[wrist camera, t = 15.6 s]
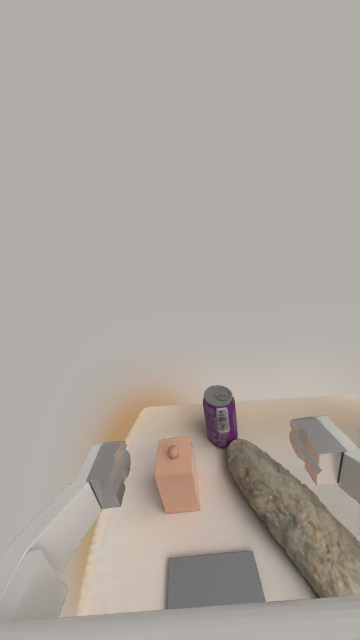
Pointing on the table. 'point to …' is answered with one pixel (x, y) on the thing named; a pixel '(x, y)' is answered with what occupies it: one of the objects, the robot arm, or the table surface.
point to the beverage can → (220, 415)
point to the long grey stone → (297, 521)
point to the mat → (213, 580)
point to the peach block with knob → (177, 475)
